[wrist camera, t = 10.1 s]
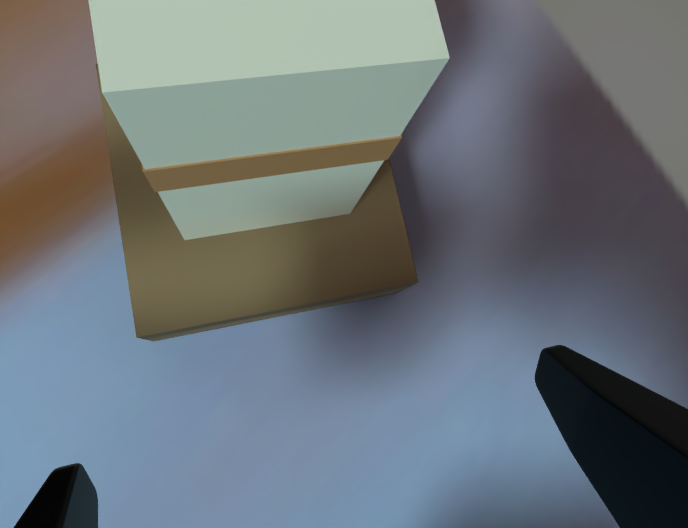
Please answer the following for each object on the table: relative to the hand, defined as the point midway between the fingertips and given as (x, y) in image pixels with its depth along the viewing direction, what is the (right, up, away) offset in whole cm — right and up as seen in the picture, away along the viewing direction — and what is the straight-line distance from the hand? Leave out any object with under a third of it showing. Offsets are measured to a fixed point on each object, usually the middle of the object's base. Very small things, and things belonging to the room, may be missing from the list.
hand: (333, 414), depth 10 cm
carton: (-3, +6, +9) cm, 11 cm away
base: (-3, +6, +12) cm, 13 cm away
